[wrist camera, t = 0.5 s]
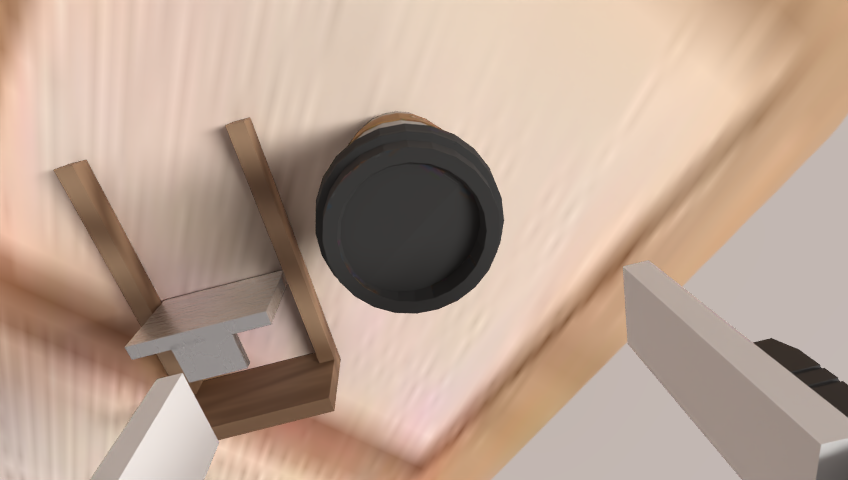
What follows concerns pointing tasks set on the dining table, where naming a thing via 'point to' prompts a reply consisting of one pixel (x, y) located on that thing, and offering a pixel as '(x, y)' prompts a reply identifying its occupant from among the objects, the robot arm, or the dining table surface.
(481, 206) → the coffee cup
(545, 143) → the dining table surface
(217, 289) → the pusher
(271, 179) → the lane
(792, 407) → the robot arm
